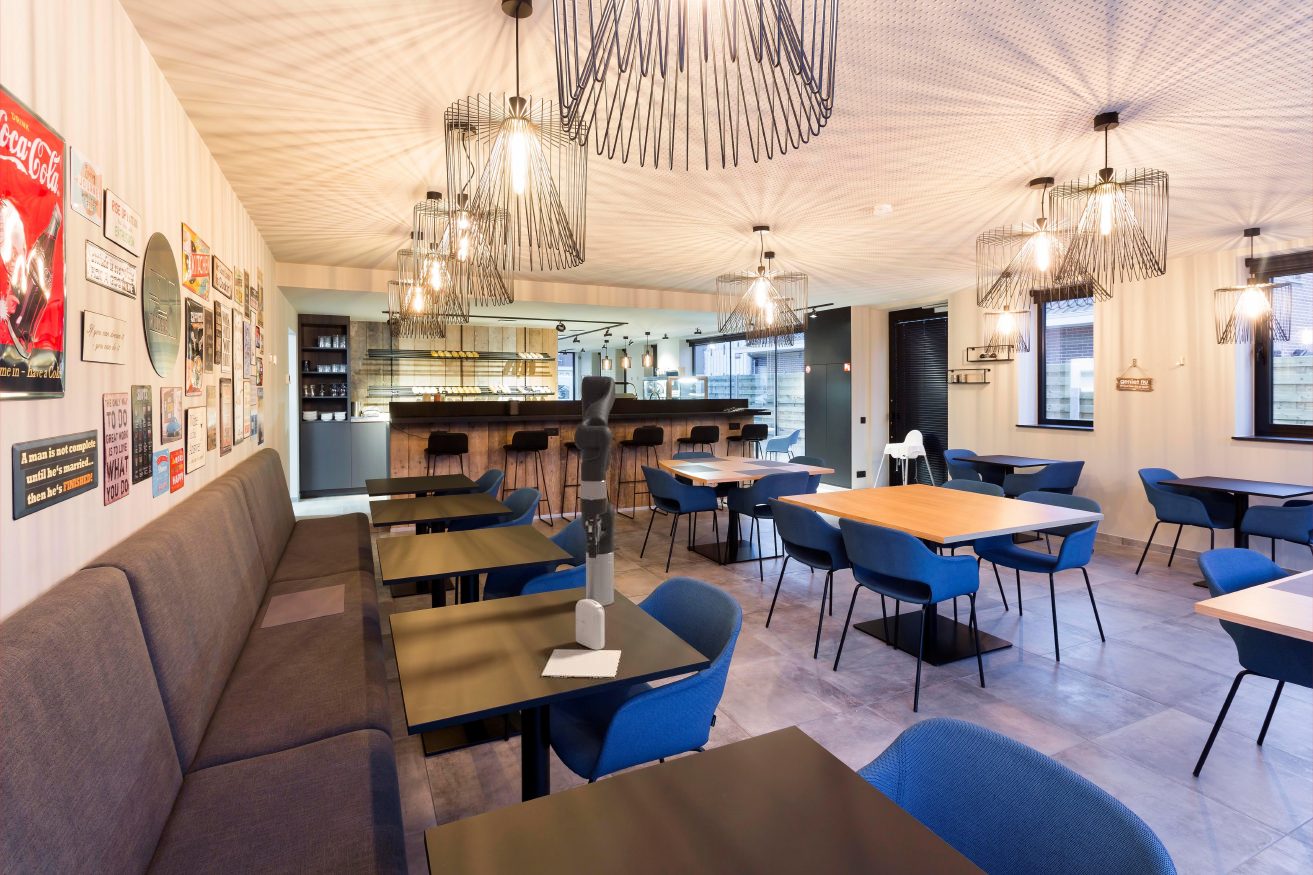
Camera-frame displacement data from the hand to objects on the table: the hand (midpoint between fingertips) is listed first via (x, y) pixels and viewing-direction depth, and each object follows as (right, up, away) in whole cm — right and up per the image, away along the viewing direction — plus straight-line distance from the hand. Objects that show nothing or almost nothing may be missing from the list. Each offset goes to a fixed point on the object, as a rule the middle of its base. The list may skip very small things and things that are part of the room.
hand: (593, 555), depth 180 cm
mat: (-1, -24, -19) cm, 31 cm away
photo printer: (0, -24, -7) cm, 24 cm away
